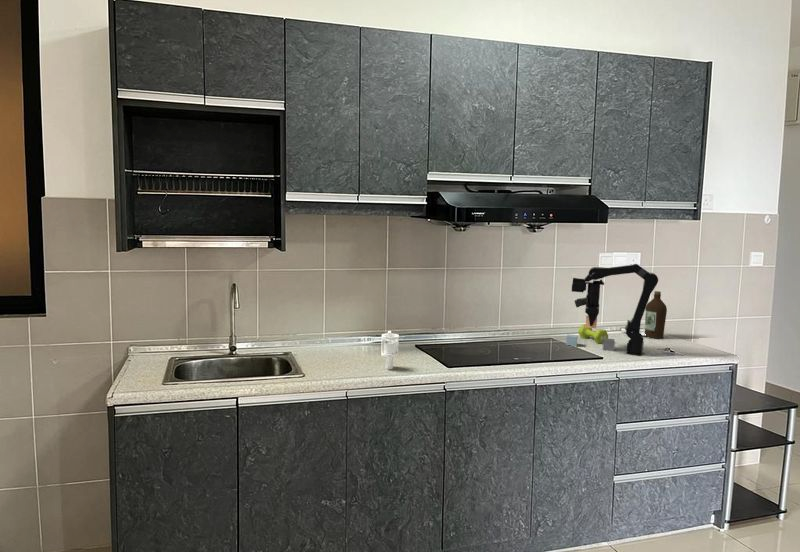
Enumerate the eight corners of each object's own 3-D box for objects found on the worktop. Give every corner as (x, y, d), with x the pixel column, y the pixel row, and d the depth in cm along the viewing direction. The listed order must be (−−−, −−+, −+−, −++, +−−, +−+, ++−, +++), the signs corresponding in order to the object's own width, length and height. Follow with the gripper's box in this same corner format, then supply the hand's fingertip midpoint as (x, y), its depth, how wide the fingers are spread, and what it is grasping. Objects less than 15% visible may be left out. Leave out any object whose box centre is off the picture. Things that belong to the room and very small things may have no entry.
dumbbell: (609, 343, 305) (610, 330, 304) (596, 344, 302) (597, 330, 301) (588, 336, 320) (589, 323, 319) (576, 337, 317) (577, 324, 316)
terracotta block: (596, 326, 292) (597, 316, 291) (596, 328, 287) (597, 318, 287) (585, 325, 294) (586, 315, 293) (585, 327, 289) (586, 317, 288)
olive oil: (652, 334, 331) (656, 289, 328) (668, 338, 321) (672, 292, 318) (638, 335, 326) (642, 290, 323) (654, 340, 316) (658, 293, 313)
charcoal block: (613, 349, 294) (614, 339, 293) (613, 351, 289) (614, 341, 288) (602, 348, 295) (603, 338, 295) (602, 350, 290) (603, 340, 290)
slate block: (576, 344, 300) (577, 335, 300) (576, 347, 295) (577, 337, 295) (566, 343, 302) (567, 334, 301) (566, 345, 297) (566, 336, 296)
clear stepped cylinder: (396, 365, 251) (397, 330, 249) (398, 370, 244) (400, 334, 242) (379, 365, 250) (380, 330, 248) (381, 370, 243) (382, 334, 241)
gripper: (576, 289, 300) (574, 320, 302) (575, 294, 282) (573, 326, 284) (600, 291, 296) (598, 322, 298) (600, 296, 279) (597, 329, 281)
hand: (591, 324), depth 290 cm, fingers closed on terracotta block, 5 cm apart
